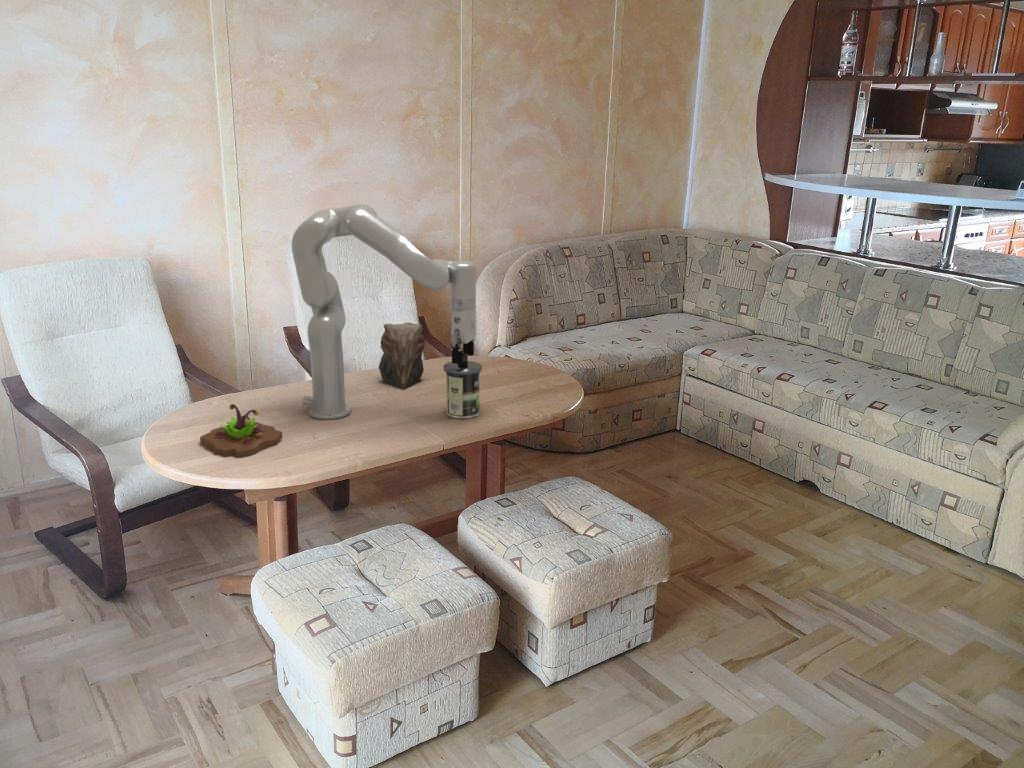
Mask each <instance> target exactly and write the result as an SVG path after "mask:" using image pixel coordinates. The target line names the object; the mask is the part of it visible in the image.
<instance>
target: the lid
mask: <svg viewBox="0 0 1024 768" xmlns="http://www.w3.org/2000/svg"><path fill="white" fill-rule="evenodd" d="M443 371H444V372H445V374H446V373H449V374H453V375H473V374H477V373H479V372H480V373H481V372H482V371H483V366H482V364H481V363H479V362H477V361H472V360H469V355H468V353H466V352H463V363H462V364H455V363H452V361H448V362H446V363H445V364H443ZM480 373H479V374H480Z"/></svg>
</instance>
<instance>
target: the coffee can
mask: <svg viewBox="0 0 1024 768" xmlns="http://www.w3.org/2000/svg"><path fill="white" fill-rule="evenodd" d="M480 373H481V372H479V373H477V374H473V375H453V374H449V373H446V372H445V374H446V377H445V378H446V381H445V382H446V383H445V384H446V386H445V387H446V415H447V416H449V417H451V418H454V419H473V418H475V417H477V416H479V415H480V413H481V412H480Z"/></svg>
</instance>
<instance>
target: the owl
mask: <svg viewBox="0 0 1024 768" xmlns="http://www.w3.org/2000/svg"><path fill="white" fill-rule="evenodd" d="M383 328H384V332H383V333H382V336H381V337H380V338H381V339H380V349H381V350H382V352H383V354H382V357H380V361H379V364H378V370H379V373H380V376H381V378H382V383H383V384H384V383H386V384H385V385H388V384H389V385H388V386H390V385H392V386H391V387H393V386H395V387H397V388H396V389H399V388H400V389H399V390H402V389H403V390H402V391H405V390H407V389H409V388H411V387H412V385H413V386H415V385H417V384H419V383H420V382H421V381H422V380H421V378H422V377H423V373H424V364H423V358H422V356H423V351H424V349H425V337H424V335H423V331H424V328H423V324H417V323H416V324H415V323H411V322H404V323H398V324H396V323H395V324H393V323H384V324H383ZM395 387H394V388H395ZM408 387H409V388H408ZM406 388H407V389H406Z"/></svg>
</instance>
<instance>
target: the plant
mask: <svg viewBox="0 0 1024 768" xmlns="http://www.w3.org/2000/svg"><path fill="white" fill-rule="evenodd" d="M228 408H229V410H235V412H236V418H234V417H232V418H231V419H230V421H226V424H227V425H226V424H224V425H223V424H221V425H220V427H217V428H213V429H212V430H210V431H209V432H206V433H204V434H203V435H201V436H200V437H199V443H200V445H201V444H202V445H203V446H202V445H201V446H202V447H204V446H206V447H207V448H208V449H209V451H211V452H213V453H214V454H215V456H221V457H223V458H224V457H225V458H229V457H235V458H237V459H239V458H241V459H242V458H247V457H252V456H255V455H256V454H258V453H260V452H262V451H264V450H267V449H269V448H272V447H277V446H278V445H279V444H280V443H281V441H282V439H283V431H282V430H277V429H276V428H275V427H274V426H272V425H267V424H264V423H260V422H258V421H257V422H256V417H253V418H250V417H249V414H251V413H252V414H253V415H254V416H258V415H259V411H258V410H257V409H250V410H248V411H247V412H246V413H245V414H244V415H241V412H240V410H239V407H238V406H237V405H236V404H234V403H233V404H232V403H231V404H230V405H229V406H228ZM206 447H205V448H206ZM207 448H206V449H207ZM208 449H207V450H208Z"/></svg>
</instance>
